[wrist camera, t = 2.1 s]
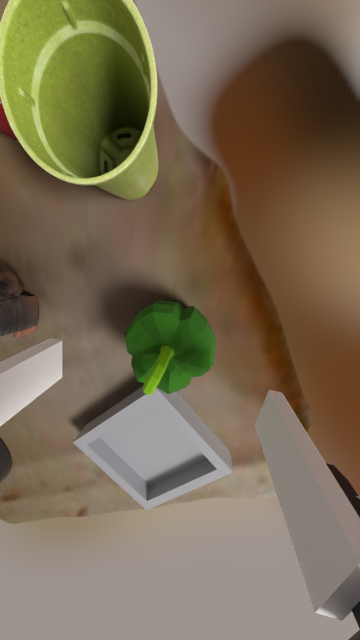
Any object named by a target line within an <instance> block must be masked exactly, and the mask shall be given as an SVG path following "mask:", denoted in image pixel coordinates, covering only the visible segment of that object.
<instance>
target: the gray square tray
mask: <svg viewBox="0 0 360 640" xmlns="http://www.w3.org/2000/svg"><path fill="white" fill-rule="evenodd" d="M142 387H143V386H142ZM142 387H141V388H139V389H138V390H136V391H135V392H133V393H132V394H130V395H129V396H127V397H126V398H124V399H123V400H122V401H120V402H119V403H117V404H116V405H114V406H113V407H111V408H110V409H108V410H107V411H105V412H104V413H102V414H101V415H99V416H98V417H96V418H95V419H94V420H92V421H91V422H89V423H88V424H86V425H85V426H84V428H83V429H82V430H81V432H80V433H79V435H78V436H77V437H76V439H75V440H74V441H73V443H74V444H75V445H76V446H77V447H78V448H79V449H80V450H82V451H83V452H84V453H85V454H86V455H87V456H88V457H89V458H90V459H91V460H92V461H93V462H95V463H96V464H97V465H98V466H99V467H100V468H101V469H102V470H103V471H104V472H105V473H106V474H108V475H109V476H110V477H111V478H112V479H113V480H114V481H115V482H116V483H117V484H118V485H119V486H121V487H122V488H123V489H124V490H125V491H126V492H127V493H128V494H129V495H130V496H131V497H132V498H134V499H135V500H136V501H137V502H138V503H139V504H140V505H141V506H142V507H143V508H144V509H145V510H148V509H150V508H153V507H155V506H157V505H159V504H162V503H164V502H166V501H169V500H171V499H173V498H175V497H178V496H180V495H182V494H185V493H187V492H189V491H191V490H194V489H196V488H198V487H201V486H203V485H205V484H207V483H210V482H212V481H214V480H217V479H219V478H221V477H223V476H226V475H228V474H230V473H233V468H232V462H231V456H230V451H229V449H228V448H227V447H226V446H225V445H224V444H223V443H222V442H221V440H220V439H219V438H218V437H217V436H216V435H215V434H214V433H213V431H212V430H211V429H210V428H209V427H208V426H207V425H206V424H205V423H204V421H203V420H202V419H201V418H200V417H199V416H198V415H197V414H196V412H195V411H194V410H193V409H192V408H191V407H190V406H189V405H188V403H187V402H186V401H185V400H184V399H183V398H182V397H181V396H180V395H179V393H178V392H177V391H175V392H173V393H171V394H167V393H165V392H164V391H162V390H160V389H158V388H156V389H155V391H154V392H153V394H152V395H147V394H146V393H143V391H142Z"/></svg>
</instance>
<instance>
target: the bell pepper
mask: <svg viewBox="0 0 360 640" xmlns="http://www.w3.org/2000/svg"><path fill="white" fill-rule="evenodd" d="M125 340H126V345H127V351H128V352H129V353H130V354H131V355H132V356H133V357H132V361H131V365H132V368H133V370H134V373H135V376H136V379H137V381H139V382H142V383H144V385H143V387H142V391H143V393H146V394H147V395H152V394H153V392H154V391H155V389H156V388H158V389H160V390H162V391H164V392H165V393H167V394H171V393H173V392H175V391H178V390H180V389H182V388H185V387H187V386H188V385H189V383H190V380H191V377H195V376H202V375H203V374H204V373H206V372H207V371H208V370H209V369H210V368H211V367H212V366H213V365H214V356H215V346H216V340H215V337H214V334H213V332H212V329H211V327H210V325H209V323H208V321H207V319H206V318H205V317H204V316H203V315H202V314H201V313H200V312H199V311H198V310H197V309H196V308H195V307H194V306H191V307H188V308H185V309H184V308H183V307H182V306H181V305H180V303H179V302H172V301H165V300H158V301H157V302H155V303H153V304H151V305H150V306H148V307H146V308H145V309H143V310H142V311H140V312H139V313H138V314H137V315H136V317H135V318H134V320H133V321H132V323H131V324H130V326H129V327H128V329H127V330H126V332H125Z"/></svg>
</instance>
